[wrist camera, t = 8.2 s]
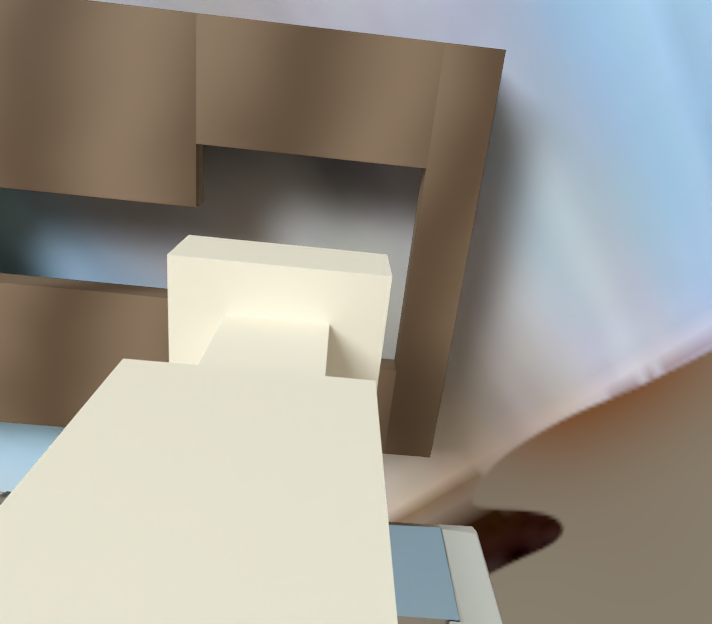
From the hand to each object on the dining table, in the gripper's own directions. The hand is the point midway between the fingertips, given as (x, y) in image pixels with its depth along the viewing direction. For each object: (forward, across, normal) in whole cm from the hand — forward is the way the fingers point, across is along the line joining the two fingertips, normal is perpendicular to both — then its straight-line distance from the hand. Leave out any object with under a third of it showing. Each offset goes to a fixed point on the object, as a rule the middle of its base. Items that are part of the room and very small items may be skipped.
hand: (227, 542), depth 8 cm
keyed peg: (+7, 0, 0) cm, 7 cm away
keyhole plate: (+17, +6, 0) cm, 18 cm away
